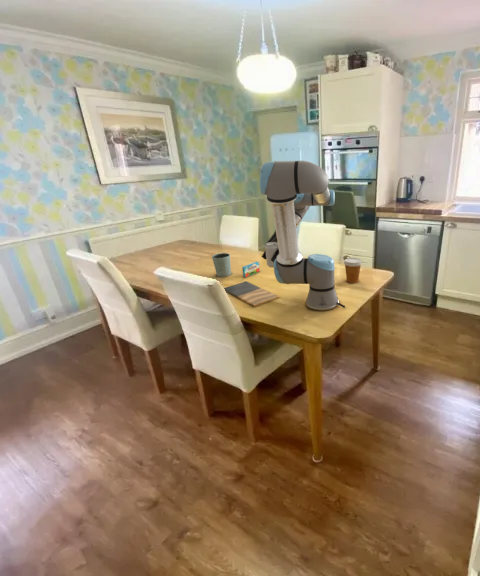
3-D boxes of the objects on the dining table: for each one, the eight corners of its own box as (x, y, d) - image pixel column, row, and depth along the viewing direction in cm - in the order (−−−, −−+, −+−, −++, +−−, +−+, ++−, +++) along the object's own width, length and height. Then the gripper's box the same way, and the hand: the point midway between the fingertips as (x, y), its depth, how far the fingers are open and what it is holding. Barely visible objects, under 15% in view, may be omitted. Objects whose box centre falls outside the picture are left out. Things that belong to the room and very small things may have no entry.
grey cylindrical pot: (234, 271, 196) (232, 253, 191) (228, 277, 187) (226, 258, 182) (219, 271, 197) (216, 253, 192) (212, 277, 188) (209, 258, 183)
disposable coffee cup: (364, 280, 176) (365, 259, 172) (354, 285, 170) (354, 264, 166) (351, 276, 183) (351, 256, 178) (340, 281, 176) (340, 260, 172)
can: (278, 268, 161) (276, 245, 157) (264, 267, 163) (262, 244, 158) (283, 263, 168) (281, 241, 164) (270, 263, 170) (267, 241, 165)
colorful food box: (258, 271, 196) (257, 261, 194) (259, 271, 195) (258, 261, 193) (243, 276, 187) (242, 266, 185) (245, 277, 186) (243, 267, 184)
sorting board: (278, 297, 158) (278, 296, 158) (254, 307, 149) (254, 305, 149) (246, 282, 178) (246, 281, 178) (223, 290, 169) (223, 288, 169)
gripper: (307, 229, 161) (284, 267, 158) (283, 224, 175) (261, 259, 172) (299, 221, 156) (274, 260, 152) (275, 216, 170) (252, 252, 166)
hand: (268, 259), depth 162 cm, fingers closed on can, 7 cm apart
